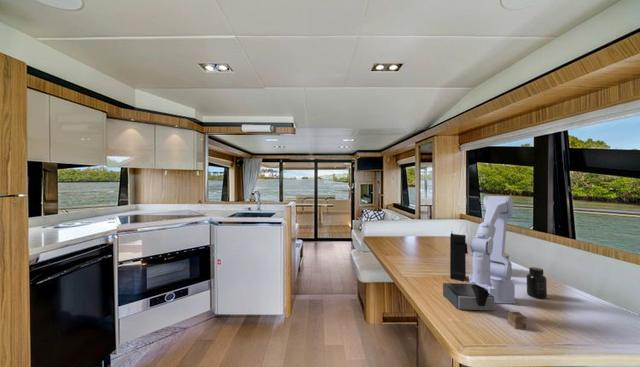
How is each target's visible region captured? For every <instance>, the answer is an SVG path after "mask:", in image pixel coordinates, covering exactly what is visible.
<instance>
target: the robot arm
mask: <svg viewBox="0 0 640 367" xmlns="http://www.w3.org/2000/svg"><path fill="white" fill-rule="evenodd" d="M482 202H483V207H484V211H485V214H484V220H483V222H481V223H479V225H478V228H477V231H476V233H475V237H474V238H471V240H470V242H469V249H470V250H469V251H470V256H471V257H472V274H468V280H469V284H475V285H471V287H472V289H473V291H474V293H475V296H476V300H477V304H478V305H479V306H485V304H486V300H487V298H488V296H489V294H491V295H493V296H494V304H517V302H516V301H515V300H516V299H515V298H516V297H515V296H516V294H515V293H516V290H515V289H516V288H515V287H516V286H515V284H514V282H513V281H512V280H511V279H512V276H513V269H512V268H513V267H512V262H511V261H510V259H509V258H508V259H507V258H506V257H505V256H504V252H505V249H506V236H507V235H506V234H507V222H508V218H510V217H513V214H514V198H513V197H512V196H511V195H506V196H505V195H488V194H487V195H485V196H484V197H483V201H482ZM490 261H497V262H502V263H504V264H500V263H495V262H490Z"/></svg>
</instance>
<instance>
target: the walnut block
mask: <svg viewBox="0 0 640 367" xmlns="http://www.w3.org/2000/svg"><path fill="white" fill-rule="evenodd" d="M507 312H508V313H507V317H508V319H507V321H508V322H507V323H508V325H510V326H511V327H513V328H514V329H515V330H517V329H518V330H522V329H523V330H527V316H526V315H524V313H521V312H519V311H507Z"/></svg>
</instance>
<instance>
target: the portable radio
mask: <svg viewBox="0 0 640 367" xmlns="http://www.w3.org/2000/svg"><path fill="white" fill-rule="evenodd" d="M466 237H467V236H466V235H465V234H459V233H458V234H457V233H453V232H451V233H450V235H449V238H450V240H449V241H450V242H449V243H450V244H449V245H450V248H449V250H450V251H449V252H450V253H449V267H450V268H449V270H450V271H449V272H450V273H449V274H450V276H449V278H450V279H452V280H457V281H460V282H461V281H462V282H465V281H466V278H467V277H466V274H467V273H466V272H467V271H466V268H467V267H466V266H467V262H466V261H467V260H466V259H467V258H466V255H468V253H469V252H468V243H467V239H466Z"/></svg>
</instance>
